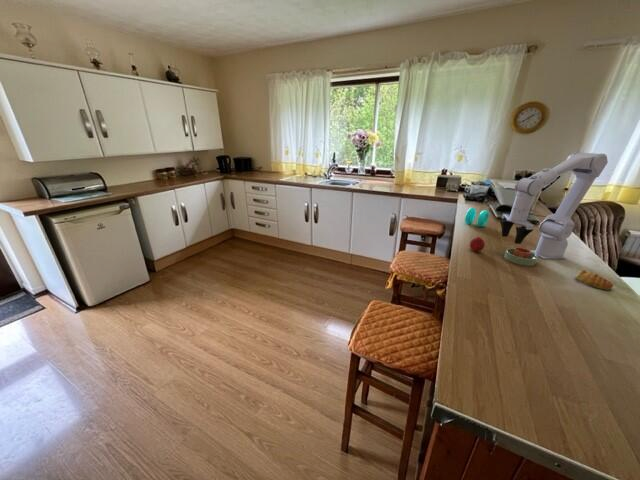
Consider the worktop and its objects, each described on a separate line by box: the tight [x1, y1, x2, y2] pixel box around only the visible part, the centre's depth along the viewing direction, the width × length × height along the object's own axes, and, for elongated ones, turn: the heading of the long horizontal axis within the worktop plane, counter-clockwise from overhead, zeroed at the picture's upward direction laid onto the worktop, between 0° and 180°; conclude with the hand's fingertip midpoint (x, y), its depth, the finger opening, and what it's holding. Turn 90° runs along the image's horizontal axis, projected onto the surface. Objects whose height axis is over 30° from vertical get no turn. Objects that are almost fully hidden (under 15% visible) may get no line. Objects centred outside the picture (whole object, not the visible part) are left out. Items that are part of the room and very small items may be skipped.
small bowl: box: [513, 247, 531, 259], centre depth 109 cm, size 6×6×4 cm
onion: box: [469, 235, 486, 253], centre depth 116 cm, size 6×6×8 cm
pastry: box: [574, 269, 614, 291], centre depth 92 cm, size 9×7×4 cm
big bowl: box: [503, 247, 539, 267], centre depth 109 cm, size 11×11×4 cm
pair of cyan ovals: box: [464, 207, 490, 228], centre depth 150 cm, size 10×10×10 cm
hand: (510, 239), depth 108 cm, fingers open, 7 cm apart
